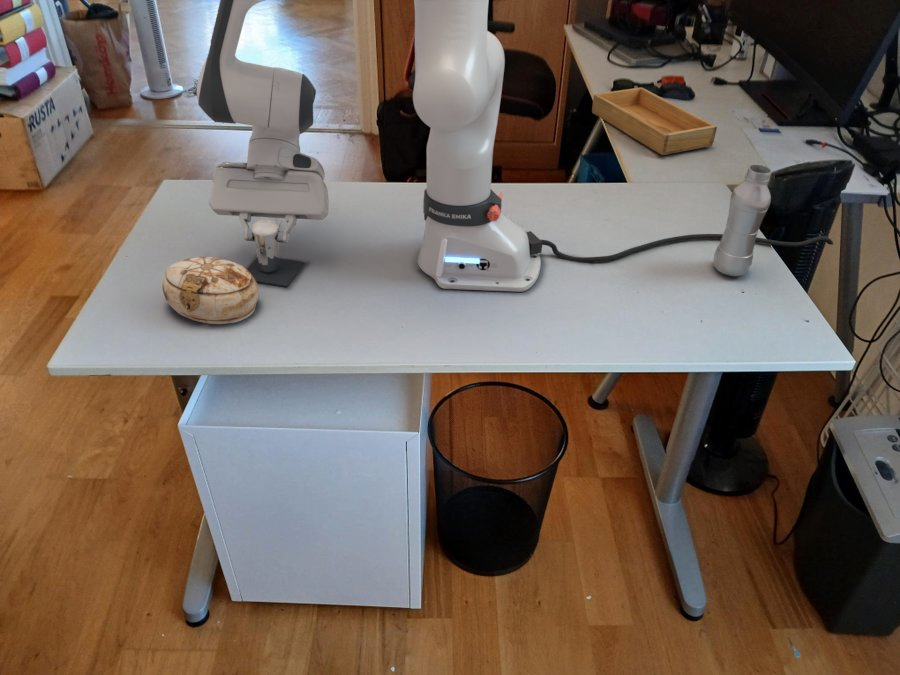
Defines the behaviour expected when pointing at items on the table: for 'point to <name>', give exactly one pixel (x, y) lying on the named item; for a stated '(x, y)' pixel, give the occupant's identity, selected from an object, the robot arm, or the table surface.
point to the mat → (276, 272)
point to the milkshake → (267, 244)
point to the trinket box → (210, 290)
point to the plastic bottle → (743, 222)
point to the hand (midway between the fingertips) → (266, 241)
